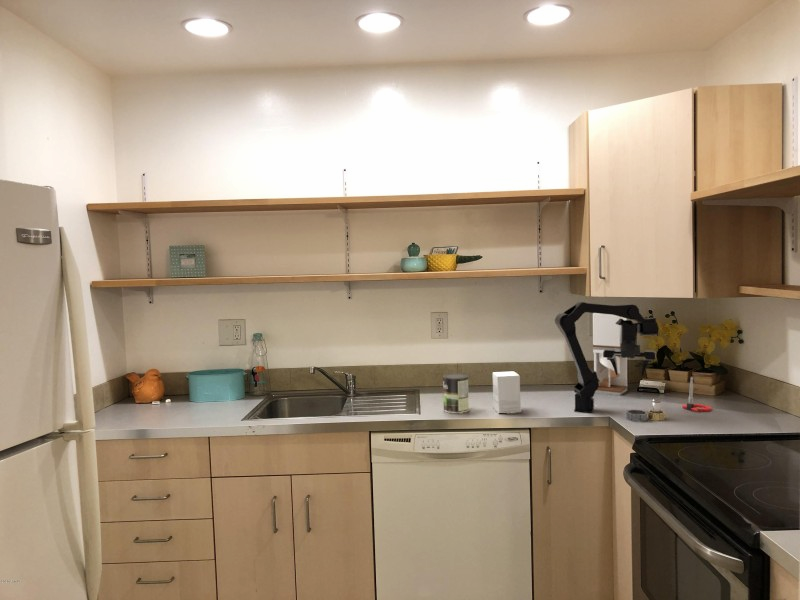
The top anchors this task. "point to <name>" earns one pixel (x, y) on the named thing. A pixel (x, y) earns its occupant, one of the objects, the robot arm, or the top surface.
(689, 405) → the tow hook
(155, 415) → the top surface
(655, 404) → the round-tipped metal peg
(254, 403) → the top surface
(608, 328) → the spiral ramp tower
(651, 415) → the small brass socket
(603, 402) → the top surface
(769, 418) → the top surface
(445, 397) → the coffee can
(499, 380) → the supplement box
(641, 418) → the wide steel socket
